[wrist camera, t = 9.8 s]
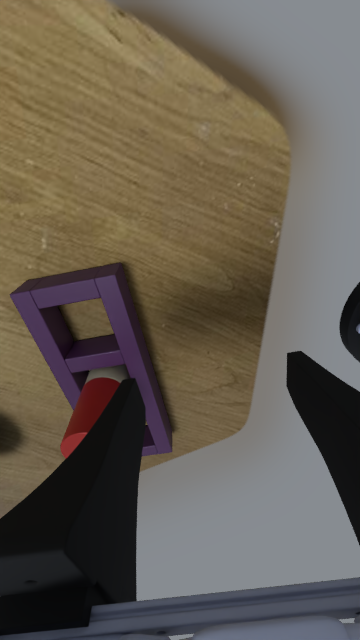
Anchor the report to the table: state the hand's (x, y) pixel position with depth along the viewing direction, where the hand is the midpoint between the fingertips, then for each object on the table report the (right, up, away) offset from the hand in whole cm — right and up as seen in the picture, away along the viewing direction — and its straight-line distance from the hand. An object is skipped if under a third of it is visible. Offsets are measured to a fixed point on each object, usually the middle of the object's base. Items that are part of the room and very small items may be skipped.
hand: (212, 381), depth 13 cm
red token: (-8, -3, +9) cm, 12 cm away
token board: (-8, -2, +12) cm, 14 cm away
